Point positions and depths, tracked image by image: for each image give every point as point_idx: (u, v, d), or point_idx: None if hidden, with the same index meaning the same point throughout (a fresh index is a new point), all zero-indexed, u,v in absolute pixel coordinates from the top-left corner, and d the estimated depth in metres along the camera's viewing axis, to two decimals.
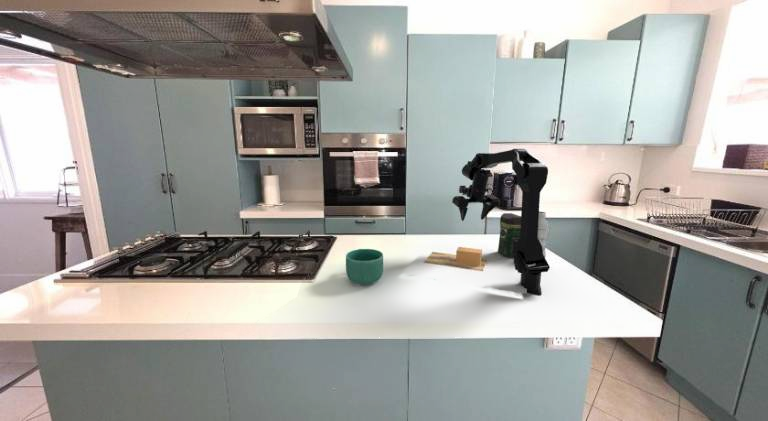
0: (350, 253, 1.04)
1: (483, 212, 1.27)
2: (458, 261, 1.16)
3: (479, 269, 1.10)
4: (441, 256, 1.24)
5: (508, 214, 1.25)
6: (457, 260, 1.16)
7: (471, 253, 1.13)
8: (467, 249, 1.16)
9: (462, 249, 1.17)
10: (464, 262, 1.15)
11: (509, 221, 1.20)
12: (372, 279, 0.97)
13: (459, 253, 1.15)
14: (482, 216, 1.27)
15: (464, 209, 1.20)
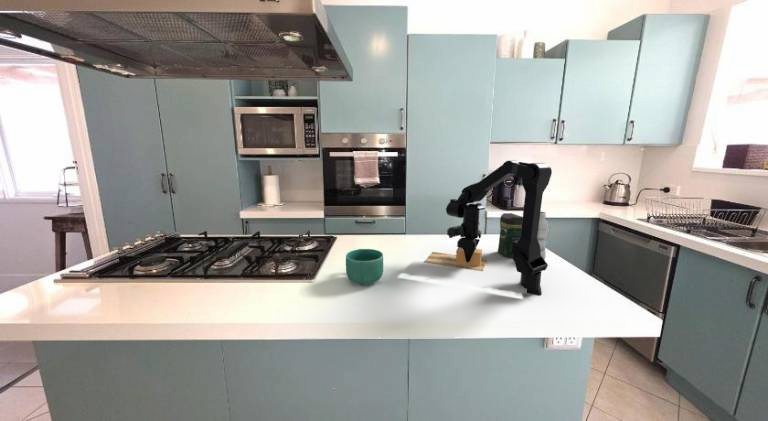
0: (350, 253, 1.04)
1: None
2: (458, 261, 1.16)
3: (479, 269, 1.10)
4: (441, 256, 1.24)
5: (508, 214, 1.25)
6: (457, 260, 1.16)
7: None
8: None
9: (462, 249, 1.17)
10: (464, 262, 1.15)
11: (509, 221, 1.20)
12: (372, 279, 0.97)
13: (459, 253, 1.15)
14: None
15: (475, 248, 1.10)
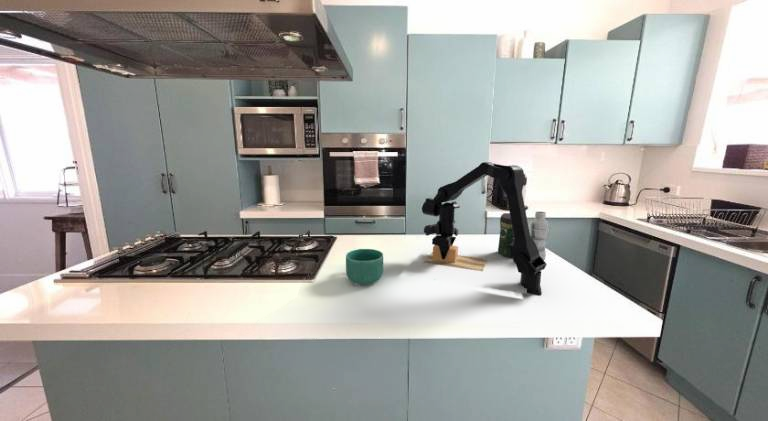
0: (350, 253, 1.04)
1: None
2: (435, 257, 1.20)
3: (479, 269, 1.10)
4: None
5: (508, 214, 1.25)
6: (434, 256, 1.20)
7: None
8: None
9: None
10: (440, 258, 1.19)
11: (509, 221, 1.20)
12: (372, 279, 0.97)
13: (435, 249, 1.19)
14: None
15: (450, 245, 1.14)
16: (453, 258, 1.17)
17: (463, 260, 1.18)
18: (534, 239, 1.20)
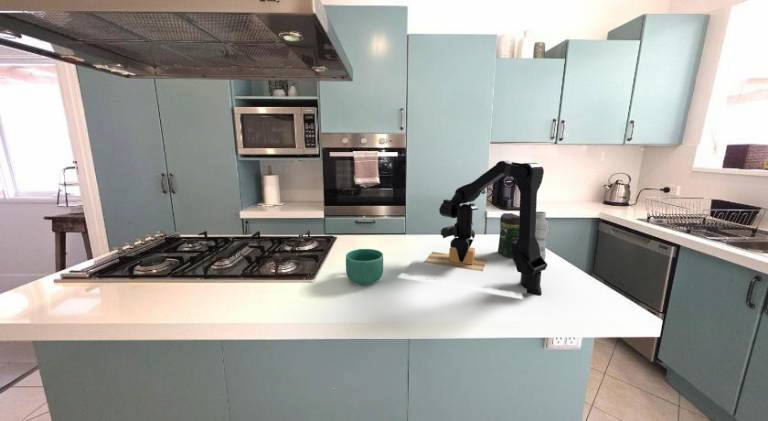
0: (350, 253, 1.04)
1: None
2: (451, 259, 1.17)
3: (479, 269, 1.10)
4: (441, 256, 1.24)
5: (508, 214, 1.25)
6: (450, 258, 1.17)
7: None
8: None
9: None
10: (457, 260, 1.16)
11: (509, 221, 1.20)
12: (372, 279, 0.97)
13: (452, 251, 1.16)
14: None
15: (468, 248, 1.11)
16: (470, 260, 1.14)
17: None
18: None
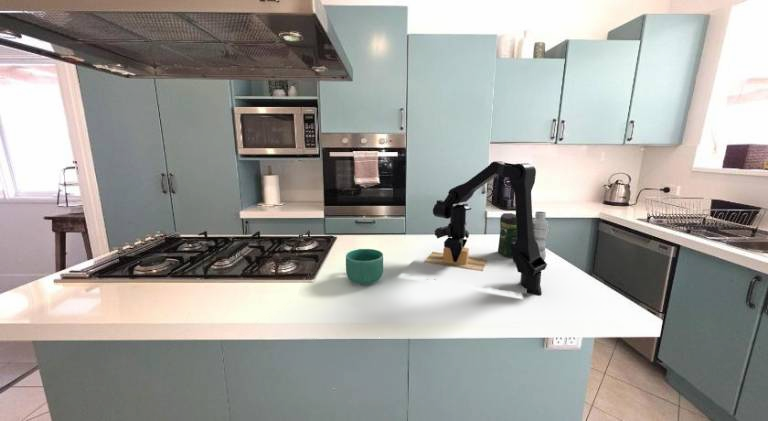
0: (350, 253, 1.04)
1: None
2: (445, 259, 1.18)
3: (479, 269, 1.10)
4: (441, 256, 1.24)
5: (508, 214, 1.25)
6: (444, 258, 1.18)
7: None
8: None
9: None
10: (451, 260, 1.17)
11: (509, 221, 1.20)
12: (372, 279, 0.97)
13: (446, 251, 1.17)
14: None
15: (462, 247, 1.12)
16: (464, 260, 1.15)
17: None
18: None
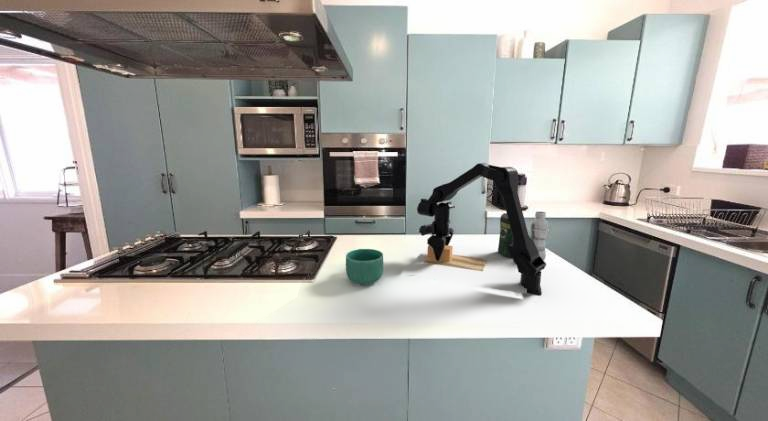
0: (350, 253, 1.04)
1: None
2: (429, 257, 1.20)
3: (479, 269, 1.10)
4: None
5: None
6: (428, 256, 1.20)
7: None
8: None
9: None
10: (435, 258, 1.19)
11: None
12: (372, 279, 0.97)
13: (430, 249, 1.20)
14: None
15: (444, 246, 1.13)
16: (447, 258, 1.17)
17: (463, 260, 1.18)
18: (534, 239, 1.20)
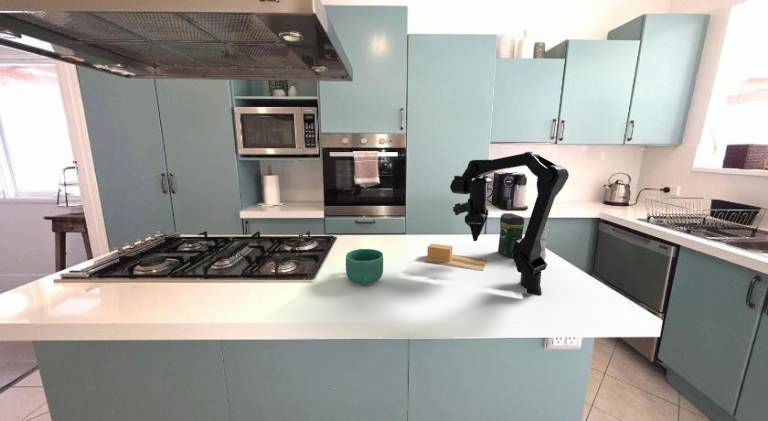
0: (350, 253, 1.04)
1: None
2: (429, 257, 1.20)
3: (479, 269, 1.10)
4: None
5: (508, 214, 1.25)
6: (428, 256, 1.20)
7: (441, 249, 1.18)
8: (438, 245, 1.21)
9: (433, 245, 1.21)
10: (435, 258, 1.19)
11: (509, 221, 1.20)
12: (372, 279, 0.97)
13: (430, 249, 1.20)
14: None
15: (483, 224, 1.03)
16: (447, 258, 1.17)
17: (463, 260, 1.18)
18: None
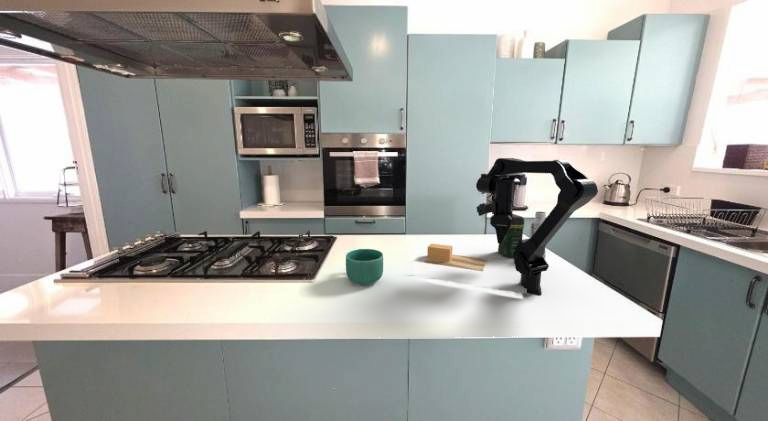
0: (350, 253, 1.04)
1: None
2: (429, 257, 1.20)
3: (479, 269, 1.10)
4: None
5: None
6: (428, 256, 1.20)
7: (441, 249, 1.18)
8: (438, 245, 1.21)
9: (433, 245, 1.21)
10: (435, 258, 1.19)
11: None
12: (372, 279, 0.97)
13: (430, 249, 1.20)
14: None
15: (509, 226, 0.98)
16: (447, 258, 1.17)
17: (463, 260, 1.18)
18: None
